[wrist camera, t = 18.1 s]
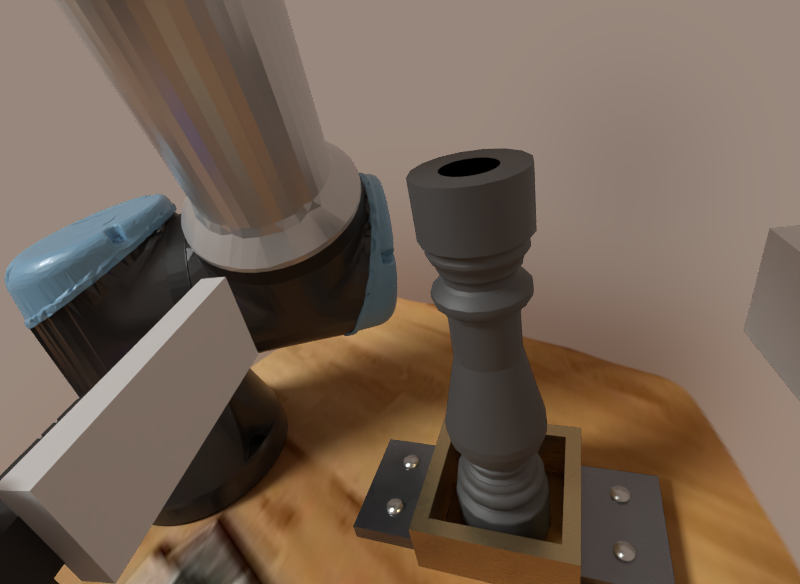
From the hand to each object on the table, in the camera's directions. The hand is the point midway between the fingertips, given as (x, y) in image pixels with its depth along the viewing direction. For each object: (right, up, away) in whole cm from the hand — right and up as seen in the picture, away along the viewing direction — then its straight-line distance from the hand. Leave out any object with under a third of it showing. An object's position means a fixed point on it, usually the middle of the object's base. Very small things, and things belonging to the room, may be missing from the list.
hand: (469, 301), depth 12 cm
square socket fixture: (+6, -15, +21) cm, 27 cm away
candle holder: (+6, -16, +21) cm, 27 cm away
